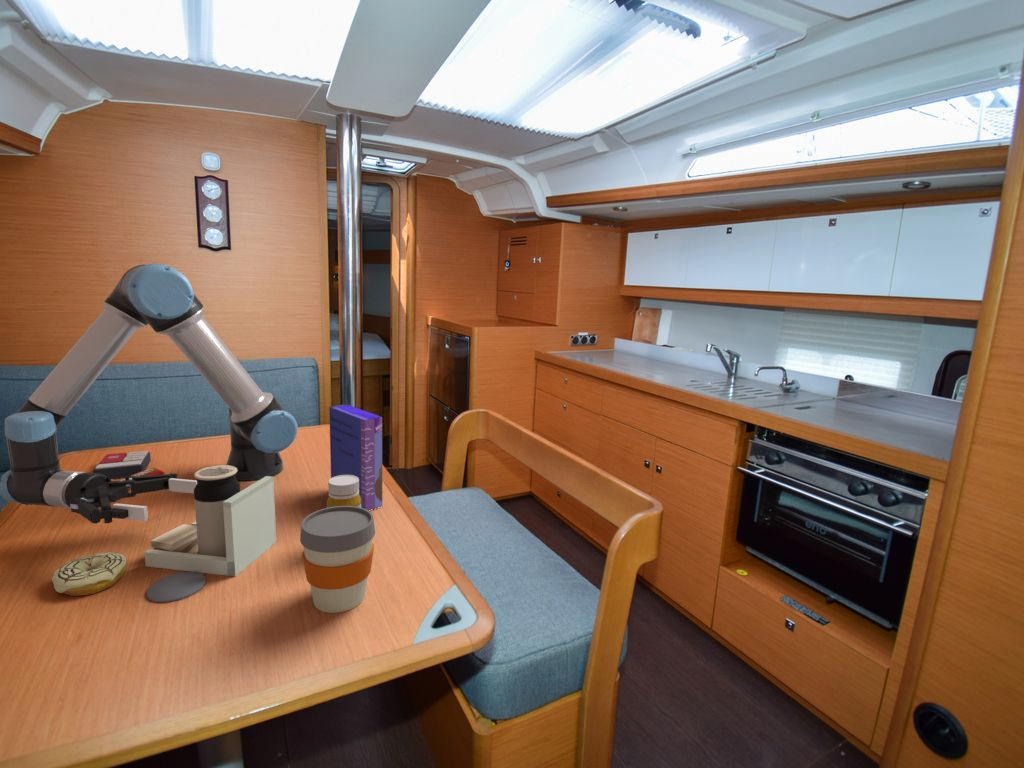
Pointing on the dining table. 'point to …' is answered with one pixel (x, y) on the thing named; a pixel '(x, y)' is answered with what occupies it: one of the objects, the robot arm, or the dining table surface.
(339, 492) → the bottle
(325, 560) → the reusable coffee cup
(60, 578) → the decorated donut
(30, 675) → the dining table surface
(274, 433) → the robot arm
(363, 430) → the purple rectangular box
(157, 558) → the rack
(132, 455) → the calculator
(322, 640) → the dining table surface
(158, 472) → the candy bar
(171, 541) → the offcut stack
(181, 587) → the coaster
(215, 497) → the travel mug
